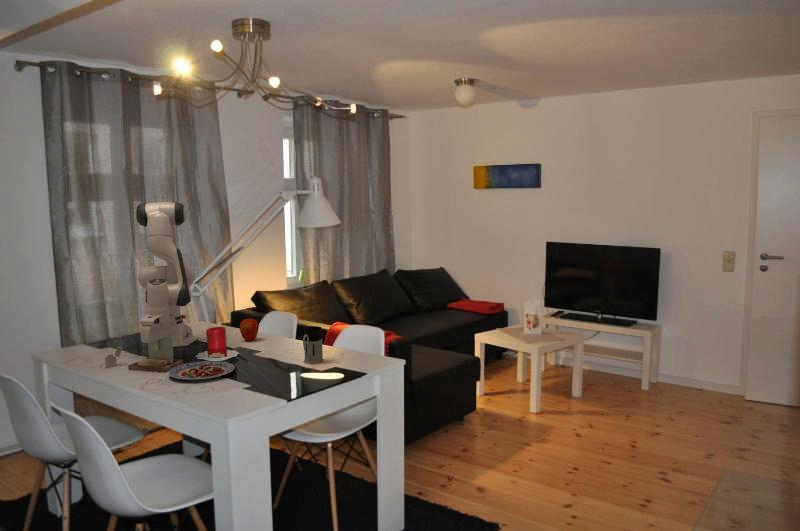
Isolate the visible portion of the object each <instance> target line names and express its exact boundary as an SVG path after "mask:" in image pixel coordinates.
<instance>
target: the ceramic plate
mask: <svg viewBox="0 0 800 531" xmlns="http://www.w3.org/2000/svg"><path fill="white" fill-rule="evenodd" d="M234 369H235V366H234V364H232V363H230V362H226V361H219V360H216V361H215V360H209V361H208V360H206V361H195V362H188V363H184V365H180V366H177V367H175V368H172V369H171V370H170V371H168V372H167V373H168V376H170V377H172V378H174V379H178V380H186V381H206V380H211V379H216V378H218V377H222V376H224V375H227V374H230V373H231V372H233V371H234Z"/></svg>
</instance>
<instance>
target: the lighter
mask: <svg viewBox="0 0 800 531" xmlns="http://www.w3.org/2000/svg"><path fill="white" fill-rule="evenodd" d="M122 350H123V347H121V346H117V348H116V350H115V353H114V354H112V353H110V354H107V356H105V357H104V364H105V368H106V369H109V368H113V367H117V358H120V355H121V353H122Z"/></svg>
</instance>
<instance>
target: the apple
mask: <svg viewBox="0 0 800 531" xmlns="http://www.w3.org/2000/svg"><path fill="white" fill-rule="evenodd" d="M259 327H260V325H259V323H258V321H257V320H256V319H255V318H244V319H243V320H242V321H241V322H240V324H239V332H240V334H241V337H242V338H243V339H244V340H245V341H247V342H253V341H254V340H255V339H256V338H257V336H258V333H259V329H260V328H259Z"/></svg>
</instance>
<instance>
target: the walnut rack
mask: <svg viewBox="0 0 800 531" xmlns="http://www.w3.org/2000/svg"><path fill="white" fill-rule="evenodd" d="M143 359H149V357H145V358H143ZM143 359H141V360H143ZM173 361H174V363H172V362H167V366H166V367H157V366H144V365H139V364H137V361H134V362H133V363H130V364H128V365H127V367H128V370H129V371H130V370H131V371H141V372H151V371H152V373H154V372H155V373H164V372H166V373H168V372H169V371H170V370H171V369H172V368H175V367H177V366H180V365H184V364H185V363H184V359H174V358H173Z"/></svg>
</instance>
